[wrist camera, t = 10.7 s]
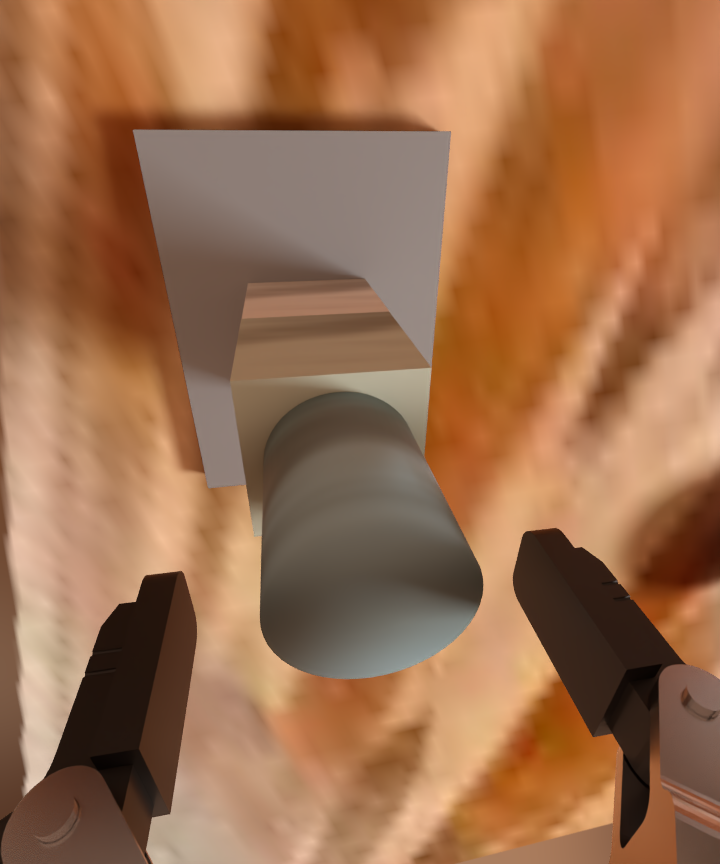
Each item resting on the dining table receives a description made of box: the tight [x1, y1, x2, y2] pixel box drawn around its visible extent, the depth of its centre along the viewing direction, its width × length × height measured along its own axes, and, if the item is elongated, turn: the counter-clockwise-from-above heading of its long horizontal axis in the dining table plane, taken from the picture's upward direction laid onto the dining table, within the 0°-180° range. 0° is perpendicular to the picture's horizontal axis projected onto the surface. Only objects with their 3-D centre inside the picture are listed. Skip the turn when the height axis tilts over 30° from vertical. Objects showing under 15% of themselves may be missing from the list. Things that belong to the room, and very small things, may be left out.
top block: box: [230, 312, 431, 537], centre depth 18 cm, size 6×6×6 cm
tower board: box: [133, 130, 451, 488], centre depth 26 cm, size 19×14×2 cm
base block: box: [242, 279, 390, 319], centre depth 23 cm, size 6×6×6 cm
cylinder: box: [260, 392, 483, 679], centre depth 13 cm, size 5×5×6 cm
